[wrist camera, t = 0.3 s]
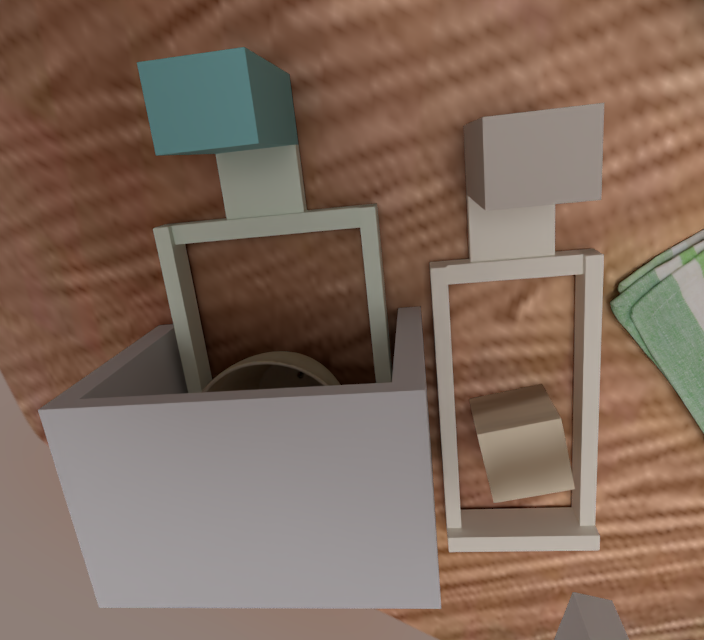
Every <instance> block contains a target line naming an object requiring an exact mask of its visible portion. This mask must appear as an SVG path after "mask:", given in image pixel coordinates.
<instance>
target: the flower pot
mask: <svg viewBox="0 0 704 640" xmlns="http://www.w3.org/2000/svg"><path fill="white" fill-rule="evenodd" d="M298 373H300V376H298ZM333 385H340V383H339V382H338V380H337V379H336V378H335V377H334V375H333V374H332V373H331V372H330V371H329V370H328V369H327V368H326V367H325V366H323V365H322V364H321V363H319V362H318V361H316V360H314V359H312V358H310V357H308V356H306V355H303V354H300V353H295V352H288V351H274V352H266V353H262V354H258V355H255V356H252V357H249V358H246V359H244V360H242V361H240V362H238V363H236V364H234V365H232V366H231V367H229V368H227V369H226V370H224V371H223V372H221V373H220V374H219V375H218V376H216V377H215V378H214V379H213V380H212V381H211V382H210V383H209V384H208V385H207V386H206V387H205V388H204V389H203V391H202V392H221V391H240V390H258V389H277V388H296V387H314V386H333ZM202 392H201V393H202Z"/></svg>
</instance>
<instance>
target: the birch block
mask: <svg viewBox="0 0 704 640" xmlns="http://www.w3.org/2000/svg"><path fill="white" fill-rule="evenodd" d="M469 402H470V406H471V411H472V415H473V419H474V424H475V428H476V432H477V437H478V441H479V445H480V449H481V453H482V457H483V461H484V465H485V469H486V473H487V477H488V481H489V485H490V489H491V493H492V497H493V501H494V503H497V502H503V501H509V500H515V499H521V498H526V497H532V496H538V495H544V494H550V493H556V492H561V491H567V490H573V489H575V486H574V481H573V476H572V471H571V466H570V461H569V455H568V450H567V445H566V440H565V435H564V430H563V425H562V420H561V417H560V415H559V413H558V412H557V410H556V408H555V406H554V405H553V403H552V401H551V399H550V397H549V396H548V394H547V392H546V390H545V388H544V387H543V385H542V384H539V385H534V386H529V387H524V388H519V389H514V390H510V391H505V392H500V393H495V394H490V395H485V396H481V397H476V398H471V399H469Z"/></svg>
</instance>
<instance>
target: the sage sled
mask: <svg viewBox="0 0 704 640" xmlns="http://www.w3.org/2000/svg"><path fill="white" fill-rule="evenodd" d="M137 65H138V70H139V75H140V80H141V85H142V90H143V95H144V100H145V104H146V109H147V114H148V119H149V124H150V129H151V134H152V139H153V143H154V148H155V153H156V155H191V154H215V155H216V160H217V166H218V172H219V178H220V183H221V189H222V195H223V201H224V206H225V212H226V218H224V219H214V220H204V221H194V222H183V223H173V224H166V225H162V226H159V227H156V228H153V232H154V236H155V241H156V246H157V250H158V255H159V260H160V264H161V269H162V273H163V278H164V283H165V287H166V292H167V297H168V301H169V306H170V311H171V315H172V320H173V325H174V329H175V334H176V339H177V343H178V348H179V352H180V357H181V362H182V366H183V371H184V376H185V380H186V385H187V390H188V393H201V392H202V391H203V389H204V388H205V387H206V386H207V385H208V384H209V383H210V382H211V381H212V376H211V371H210V366H209V361H208V356H207V351H206V346H205V341H204V336H203V331H202V326H201V321H200V316H199V311H198V306H197V301H196V296H195V291H194V286H193V281H192V276H191V271H190V266H189V261H188V255H187V250H186V245H185V244H188V243H198V242H209V241H220V240H231V239H241V238H252V237H263V236H274V235H284V234H295V233H306V232H316V231H327V230H338V229H349V228H359V227H360V230H361V240H362V250H363V260H364V269H365V279H366V289H367V299H368V309H369V319H370V329H371V338H372V348H373V358H374V368H375V378H376V383H389V382H392V374H393V372H392V361H391V350H390V339H389V328H388V317H387V306H386V295H385V284H384V273H383V262H382V251H381V240H380V229H379V218H378V207H377V203H376V204H366V205H356V206H345V207H335V208H325V209H315V210H307V207H306V199H305V191H304V183H303V176H302V168H301V160H300V152H299V145H298V137H297V129H296V122H295V114H294V106H293V98H292V91H291V83H290V75H289V74H288V73H286V72H285V71H283V70H281V69H280V68H278V67H277V66H275V65H273V64H272V63H270V62H268V61H267V60H265V59H263V58H262V57H260V56H258V55H257V54H255V53H253V52H252V51H250V50H248V49H247V48H245V47H241V48H234V49H227V50H220V51H213V52H206V53H199V54H192V55H185V56H178V57H171V58H164V59H157V60H150V61H143V62H137Z"/></svg>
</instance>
